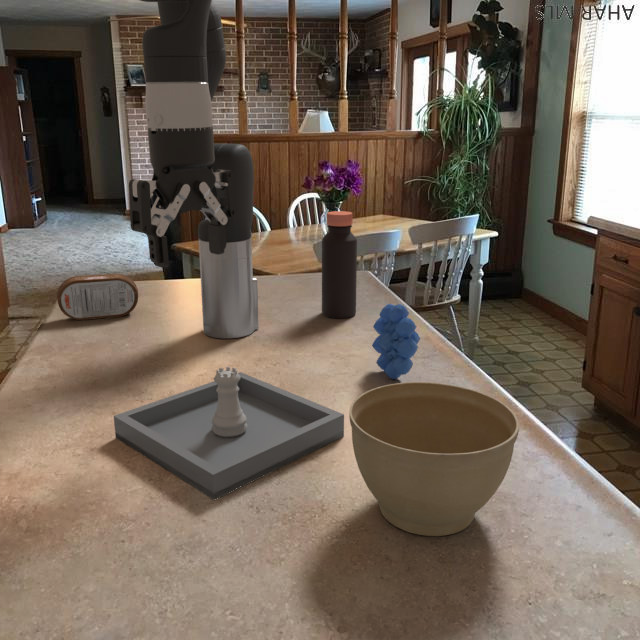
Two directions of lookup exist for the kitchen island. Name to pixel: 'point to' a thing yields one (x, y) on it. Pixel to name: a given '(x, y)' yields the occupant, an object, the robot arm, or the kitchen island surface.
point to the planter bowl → (431, 452)
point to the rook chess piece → (228, 405)
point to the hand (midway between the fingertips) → (190, 259)
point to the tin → (97, 296)
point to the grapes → (395, 340)
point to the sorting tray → (228, 453)
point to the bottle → (339, 266)
